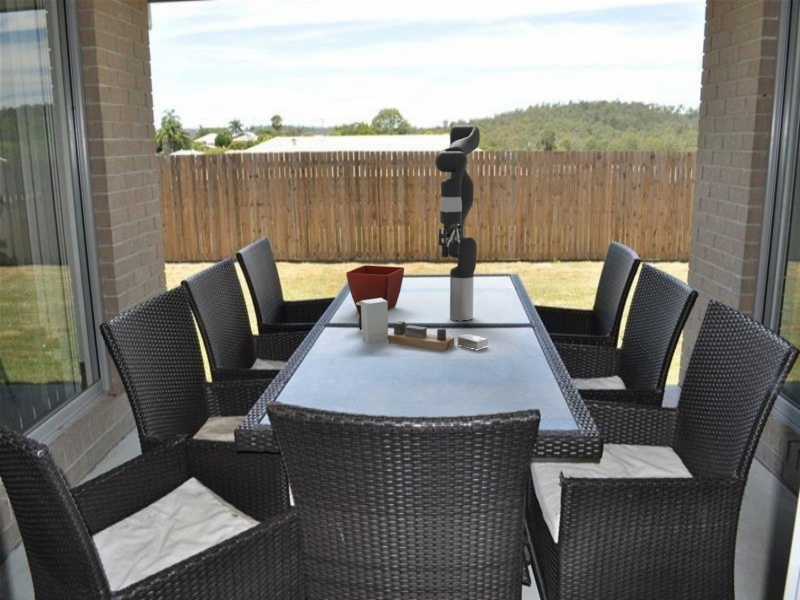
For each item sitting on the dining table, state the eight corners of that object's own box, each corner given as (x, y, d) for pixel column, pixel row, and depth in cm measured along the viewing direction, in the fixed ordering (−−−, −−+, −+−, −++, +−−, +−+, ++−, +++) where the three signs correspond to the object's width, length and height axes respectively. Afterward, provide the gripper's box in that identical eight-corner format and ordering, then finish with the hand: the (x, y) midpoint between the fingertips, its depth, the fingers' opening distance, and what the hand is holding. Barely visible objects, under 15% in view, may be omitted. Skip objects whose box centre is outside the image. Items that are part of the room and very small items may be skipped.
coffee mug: (376, 332, 278) (376, 306, 276) (354, 331, 280) (353, 305, 278) (383, 324, 289) (383, 299, 287) (361, 323, 291) (361, 298, 289)
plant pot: (345, 311, 311) (345, 272, 307) (365, 302, 328) (364, 264, 324) (388, 315, 304) (387, 275, 300) (405, 305, 321) (405, 267, 317)
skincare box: (382, 337, 272) (381, 297, 269) (389, 341, 267) (388, 300, 263) (360, 339, 268) (360, 299, 265) (367, 344, 263) (366, 302, 260)
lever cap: (468, 343, 264) (468, 333, 264) (487, 348, 258) (487, 338, 257) (457, 346, 261) (457, 336, 260) (476, 351, 254) (477, 341, 254)
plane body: (399, 337, 271) (398, 319, 269) (454, 345, 260) (454, 326, 259) (388, 343, 264) (387, 324, 262) (444, 351, 253) (444, 331, 252)
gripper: (449, 207, 269) (449, 252, 272) (432, 211, 256) (431, 257, 260) (469, 208, 265) (468, 253, 268) (452, 212, 253) (451, 259, 256)
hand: (450, 255), depth 264 cm, fingers open, 8 cm apart
